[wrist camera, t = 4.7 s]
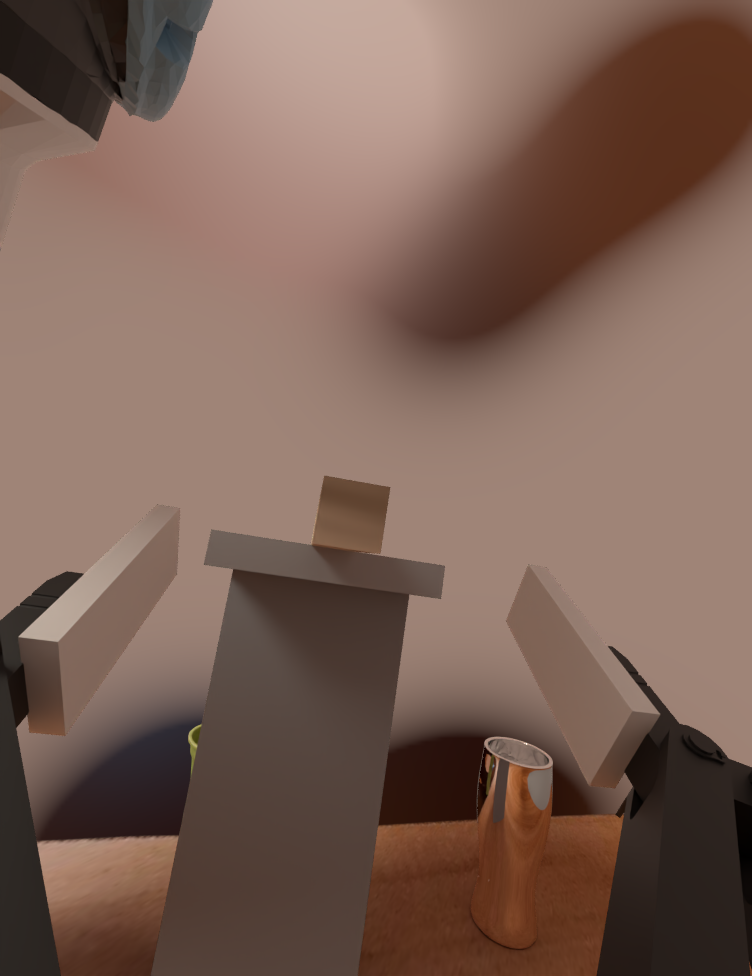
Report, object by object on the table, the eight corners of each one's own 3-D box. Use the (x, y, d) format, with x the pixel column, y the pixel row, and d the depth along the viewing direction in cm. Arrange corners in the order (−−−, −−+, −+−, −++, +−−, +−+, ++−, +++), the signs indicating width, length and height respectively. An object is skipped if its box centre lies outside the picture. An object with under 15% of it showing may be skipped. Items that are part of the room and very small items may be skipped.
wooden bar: (380, 553, 16) (390, 487, 16) (312, 543, 15) (324, 475, 16) (336, 550, 41) (340, 524, 41) (310, 546, 41) (315, 520, 41)
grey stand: (364, 1218, 21) (445, 565, 26) (60, 1233, 19) (211, 529, 24) (341, 931, 37) (394, 559, 42) (172, 924, 35) (249, 536, 40)
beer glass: (491, 882, 45) (505, 731, 48) (555, 932, 40) (567, 760, 42) (450, 909, 41) (468, 741, 43) (516, 969, 35) (532, 775, 38)
